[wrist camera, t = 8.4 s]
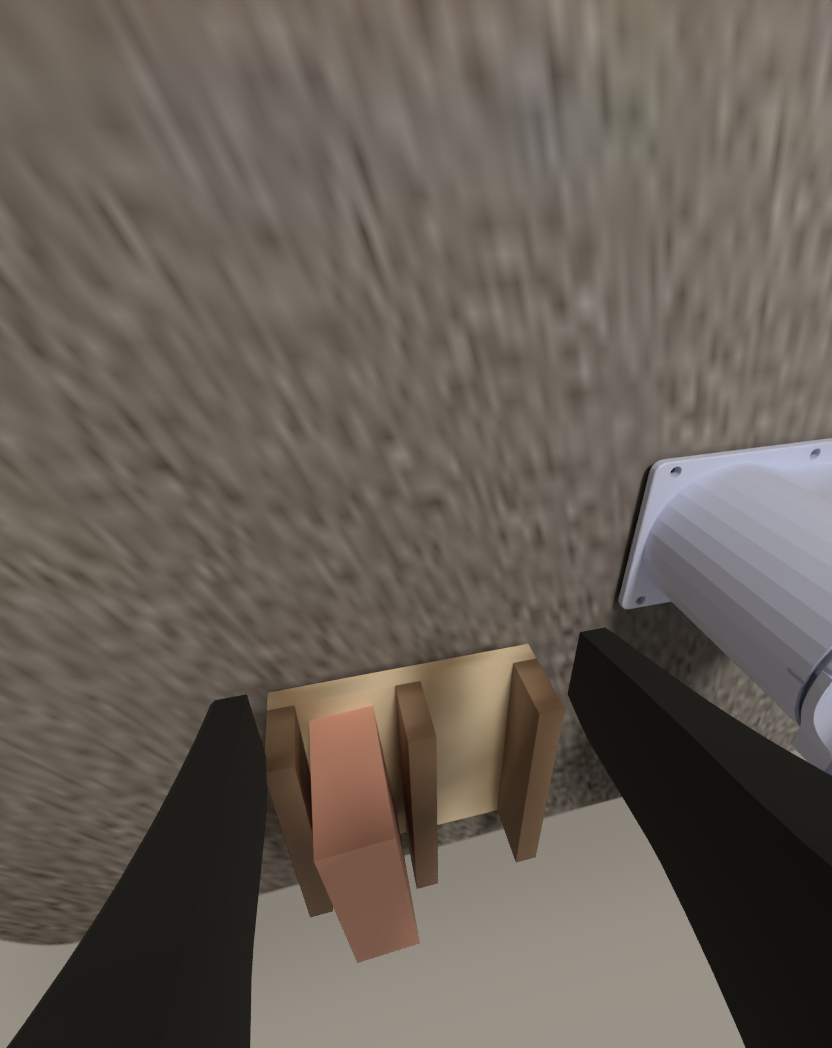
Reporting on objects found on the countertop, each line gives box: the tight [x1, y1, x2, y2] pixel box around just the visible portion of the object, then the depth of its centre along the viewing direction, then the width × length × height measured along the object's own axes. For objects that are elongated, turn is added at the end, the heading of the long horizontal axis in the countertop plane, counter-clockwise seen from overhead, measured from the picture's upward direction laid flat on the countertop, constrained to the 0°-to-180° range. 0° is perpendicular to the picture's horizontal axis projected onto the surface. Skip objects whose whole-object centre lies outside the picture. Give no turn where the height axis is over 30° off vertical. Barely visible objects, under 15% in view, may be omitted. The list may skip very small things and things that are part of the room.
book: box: [309, 705, 420, 963], centre depth 23 cm, size 3×10×6 cm, turn 6°
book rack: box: [265, 644, 565, 917], centre depth 25 cm, size 13×13×4 cm
